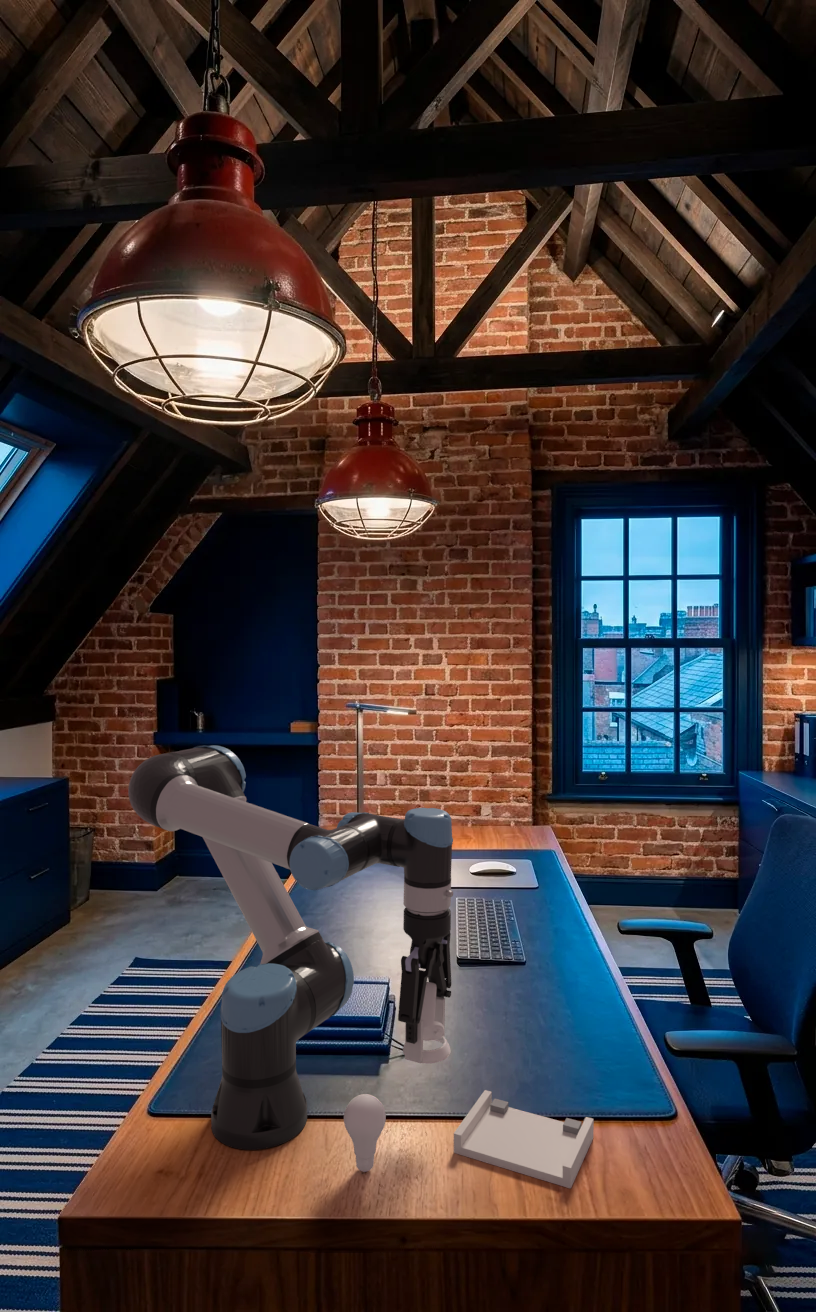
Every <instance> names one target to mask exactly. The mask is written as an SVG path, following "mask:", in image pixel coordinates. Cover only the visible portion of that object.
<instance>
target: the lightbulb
mask: <svg viewBox="0 0 816 1312" xmlns="http://www.w3.org/2000/svg"><path fill="white" fill-rule="evenodd" d="M386 1117H387V1115H386V1109H385V1106H384V1104H383V1103H382V1101H380V1100H379V1099H378V1097H376V1096H374V1095H372V1094H367V1093H362V1094H358V1095H355V1097H353V1098H352V1099H351V1100H350V1101H349V1102H348V1103H347V1105H346V1107H345V1110H344V1113H343V1123H344V1127H345V1130H346V1132H347V1134H348V1135H349V1137H350V1139H351V1141H352V1144H353V1153H354V1155H355V1164H356V1165H355V1166H356V1169H358V1170H359V1171H361V1172H364V1173H366V1172H367V1173H368V1171H371V1170H372V1169H373V1168H374V1164H375V1163H374V1161H375V1154H376V1150H377V1149H376V1148H377V1142H378V1140H379V1137H380V1136H381V1134H382V1132H383V1130H384V1128H385V1125H386Z"/></svg>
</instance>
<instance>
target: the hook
mask: <svg viewBox="0 0 816 1312" xmlns="http://www.w3.org/2000/svg"><path fill="white" fill-rule="evenodd" d="M436 989H437V986H436V984H435V983H432V982H429V981H427V983H426V989H425V995H424V1001H423V1007H422V1013H421V1019H420V1020H423V1041H425V1042H426V1041H428V1042H429V1041H434V1042H435V1041H436V1042H438V1043H441V1044H442V1045H441V1046H440V1047H438V1048H435V1049H430V1050H428V1049H427V1050H424V1049H423V1061H422V1063H421V1064H435V1063H436V1064H437V1063H439V1062H443V1061H444V1060H446V1059H447V1058H448V1057H449V1056H450V1055H451V1052H452V1051H451V1046H450V1044H449V1041H448V1039H446V1037H444V1036H443V1035H444V1026H443V1025H442V1024H441V1023H440V1022H436V1021H434V1018H435V1004H436ZM402 1053H403V1055H404V1056H405V1043H404V1044H403V1047H402Z"/></svg>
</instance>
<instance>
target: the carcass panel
mask: <svg viewBox="0 0 816 1312" xmlns="http://www.w3.org/2000/svg"><path fill="white" fill-rule="evenodd" d="M492 1094H493V1092H492V1091H490V1090H487V1089H485V1090H483V1092H482V1093H481V1095H480V1096H479V1097H478V1099H477V1100H476V1101H475V1103H474V1104H473V1106H472V1107H471V1108H470V1109H469V1111H468V1113H467V1115H466V1116H465V1117H464V1118H463V1120H462V1121H461V1123H460V1124H459V1125H458V1127H457V1128H456V1130H455V1131H454V1132H453V1154H457V1155H461V1156H463V1157H467V1158H470V1159H472V1160H476V1161H480V1162H483V1163H487V1164H489V1165H492V1166H495V1167H499V1168H502V1169H506V1170H508V1171H512V1172H516V1173H519V1174H522V1175H525V1176H528V1177H530V1178H531V1177H532V1178H535V1179H538V1180H540V1181H541V1180H542V1181H545V1182H549V1183H551V1184H554V1185H558V1186H561V1187H564V1188H567V1189H572V1187H573V1185H574V1183H575V1181H576V1178H577V1176H578V1173H579V1171H580V1169H581V1167H582V1164H583V1162H584V1159H585V1157H586V1155H587V1153H588V1151H589V1148H590V1147H591V1144H592V1142H593V1139H594V1131H595V1130H594V1129H595V1128H594V1121H595V1120H594V1118H592V1117H587V1116H586V1117H584V1119H583V1122H582V1121H580V1120H576V1119H572V1118H568V1117H566V1118H565V1120H564V1121H562V1120H557V1119H553V1118H550V1117H546V1116H543V1115H539V1114H536V1113H532V1112H528V1111H523V1110H521V1109H516V1108H514V1107H510V1106H509V1101H505V1100H502V1099H498V1098H493V1096H492Z"/></svg>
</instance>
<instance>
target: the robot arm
mask: <svg viewBox="0 0 816 1312" xmlns="http://www.w3.org/2000/svg"><path fill="white" fill-rule="evenodd" d="M130 777H131V778H130V780H129V783H128V790H127V791H128V799H129V803H130V806H131V807H132V809H133V811H134V812H135V813H136V814H137V816H139V817H140V819H142V820H143V821H145V822H147V823H148V824H150V825H152V826H154V827H157V828H160V829H162V830H165V831H168V832H175V831H178V830H183V831H186V832H188V833H191V834H193V835H197V836H199V837H202V839H203V841H204V842H205V845H206V847H207V849H208V850H209V852H210V854H211V856H212V858H213V859H214V862H215V864H216V865H217V868H218V869H219V871H220V873H221V875H222V877H223V879H224V880H225V882H226V885H227V886H228V889H229V890H230V893H231V894H232V896H233V898H234V900H235V902H236V904H237V906H238V907H239V910H240V911H241V913H242V915H243V918H244V919H245V921H246V923H247V925H248V927H249V929H250V930H251V932H252V935H253V936H254V939H255V940H256V942H257V944H258V946H259V947H260V950H261V952H262V957H261V959H260V963H259V964H258V965H257V966H252V965H250V966H248V967H246V968H243V969H242V970H239V971H238V972H237V973H234V974H233V975H232V976H231V977H230V978H229V979H228V980H227V982H226V983H225V985H224V986H223V987H224V988H223V989H222V994H221V1004H220V1012H219V1013H220V1014H219V1016H220V1028H221V1029H220V1031H221V1069H222V1070H221V1080H220V1083H219V1086H218V1089H217V1093H216V1096H215V1099H214V1101H213V1105H212V1107H211V1108H212V1109H211V1113H210V1115H211V1117H210V1119H211V1120H210V1121H211V1123H210V1125H211V1132H212V1134H213V1136H214V1138H216V1139H217V1141H219V1142H220V1143H222V1144H224V1145H225V1146H227V1147H230V1148H234V1149H238V1150H247V1151H248V1150H249V1151H254V1150H255V1151H257V1150H263V1149H269V1148H274V1147H277V1146H279V1145H282V1144H284V1143H286V1142H288V1141H290V1140H292V1139H293V1138H295V1137H296V1136H297V1135H299V1134H300V1132H302V1130H303V1129H304V1128H305V1125H306V1124H307V1120H308V1103H307V1101H308V1100H307V1098H306V1096H305V1093H304V1092H303V1088H302V1085H301V1081H300V1078H299V1074H298V1072H297V1059H296V1058H297V1053H296V1052H297V1050H296V1047H297V1045H296V1044H297V1041H298V1040H299V1039H302V1038H303V1037H304V1036H305V1035H307V1034H308V1033H309V1032H311V1031H312V1030H314V1029H316V1027H318V1026H319V1025H321V1024H322V1023H324V1022H325V1021H327V1020H329V1019H330V1018H332V1017H334V1016H335V1015H336V1014H337V1013H338V1012H339V1011H340V1009H342V1008H343V1007H344V1006H345V1005H346V1004H347V1003H348V1001H349V999H350V998H351V995H352V993H353V987H354V983H355V976H354V975H355V974H354V969H353V965H352V962H351V960H350V958H349V955H348V954H347V953H346V952H345V951H344V949H343V948H342V947H341V946H339V945H335V943H334V942H331V941H325V940H324V939H323V937H322V934H321V932H320V931H319V930H318V929H314V928H312V927H308V926H307V925H306V924H305V921H304V920H303V918H302V916H301V914H300V912H299V911H298V908H297V907H296V906H295V904H294V901H293V900H292V898H291V896H290V894H289V893H288V890H287V889H286V888H287V887H286V886H285V885H284V884H283V882H282V879H281V878H280V875H279V873H278V872H277V870H276V868H275V866H274V865H277V866H280V867H283V868H285V869H287V870H290V873H291V875H292V877H293V879H294V880H296V881H297V883H298V884H299V886H300V887H302V888H303V889H306V890H310V891H318V890H321V889H325V888H329V887H332V886H334V885H336V884H338V883H340V882H341V881H343V880H345V879H347V878H349V877H351V876H353V875H355V874H357V873H359V872H361V871H363V870H366V869H367V868H369V867H372V866H374V865H377V864H380V865H381V864H382V865H387V866H392V867H397V868H399V867H400V868H403V875H404V876H403V905H404V907H405V908H404V909H403V922H402V923H403V928H402V929H403V931H404V933H405V934H406V935H408V937H409V938H411V943H410V949H409V955H408V956H406V955H402V957H401V958H400V965H401V966H400V967H401V976H400V977H401V978H400V988H399V989H400V990H399V1000H398V1001H399V1003H398V1015H397V1017H398V1018H397V1020H398V1022H401V1023H405V1026H404V1027H405V1028H404V1029H405V1030H404V1031H405V1032H404V1033H405V1034H404V1035H405V1036H404V1037H405V1039H404V1041H405V1042H404V1044H405V1055H404V1059H405V1060H407V1061H409V1062H410V1061H411V1062H414V1063H418V1064H423V1063H422V1061H423V1050H424V1040H423V1020H420V1019H421V1013H422V1007H423V1001H424V995H425V989H426V983H427V982H432V983H435V984H436V986H437V989H436V1004H435V1018H434V1021H436V1022H440V1023H441V1024H442V1025H443V1026H444V1035H443V1036H444V1037H445V1033H446V1032H445V1031H446V1030H445V1029H446V1028H445V1026H446V1025H445V1024H446V1023H445V1021H446V1018H445V1017H446V998H451V996H452V990H448V989H451V988H452V969H451V968H452V967H451V948H450V947H451V945H450V943H451V935H452V933H451V930H452V911H451V910H452V909H450V907H451V905H452V904H451V903H452V897H453V896H454V891H453V890H452V859H453V858H452V856H453V855H452V854H453V844H454V837H453V828H452V827H453V824H452V822H453V821H452V817H451V815H450V814H449V813H448V811H446V810H443V809H440V808H436V807H429V808H428V807H415V808H411V809H409V810H407V812H406V813H405V815H404V818H398V817H396V818H395V817H392V816H391V817H390V816H385V815H384V816H383V815H379V814H373V813H371V812H365V811H364V812H357V811H356V812H353V811H351V812H347V813H345V814H344V815H343V816H342V819H341V820H339V821H338V823H337V826H336V827H335V828H333V829H327V828H323V827H320V826H317V825H313V824H310V823H308V822H306V821H303V820H300V819H297V818H294V817H291V816H287V815H285V814H283V813H279V812H277V811H274V810H271V809H269V808H268V809H267V808H264V807H262V806H258V805H256V804H254V803H249V802H248V801H247V796H245V793H244V792H245V789H246V783H247V782H246V781H245V779H246V777H247V775H246V771H245V767H244V764H243V763H242V762H241V759H240V758H239V757H238V755H236V754H235V753H234V752H233V751H231V749H229V748H226V747H224V746H221V745H213V744H212V745H197V746H194V747H192V748H188V749H182V750H179V751H171V752H167V753H161V754H157V755H156V754H155V755H153V756H150V757H149V758H146V759H145V760H144V761H142V762H141V764H139V765H138V766H137V768H136V769H135V770H134V771H133V773H132V775H131V776H130ZM273 864H274V865H273ZM421 969H422V970H421ZM445 1038H446V1037H445Z"/></svg>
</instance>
